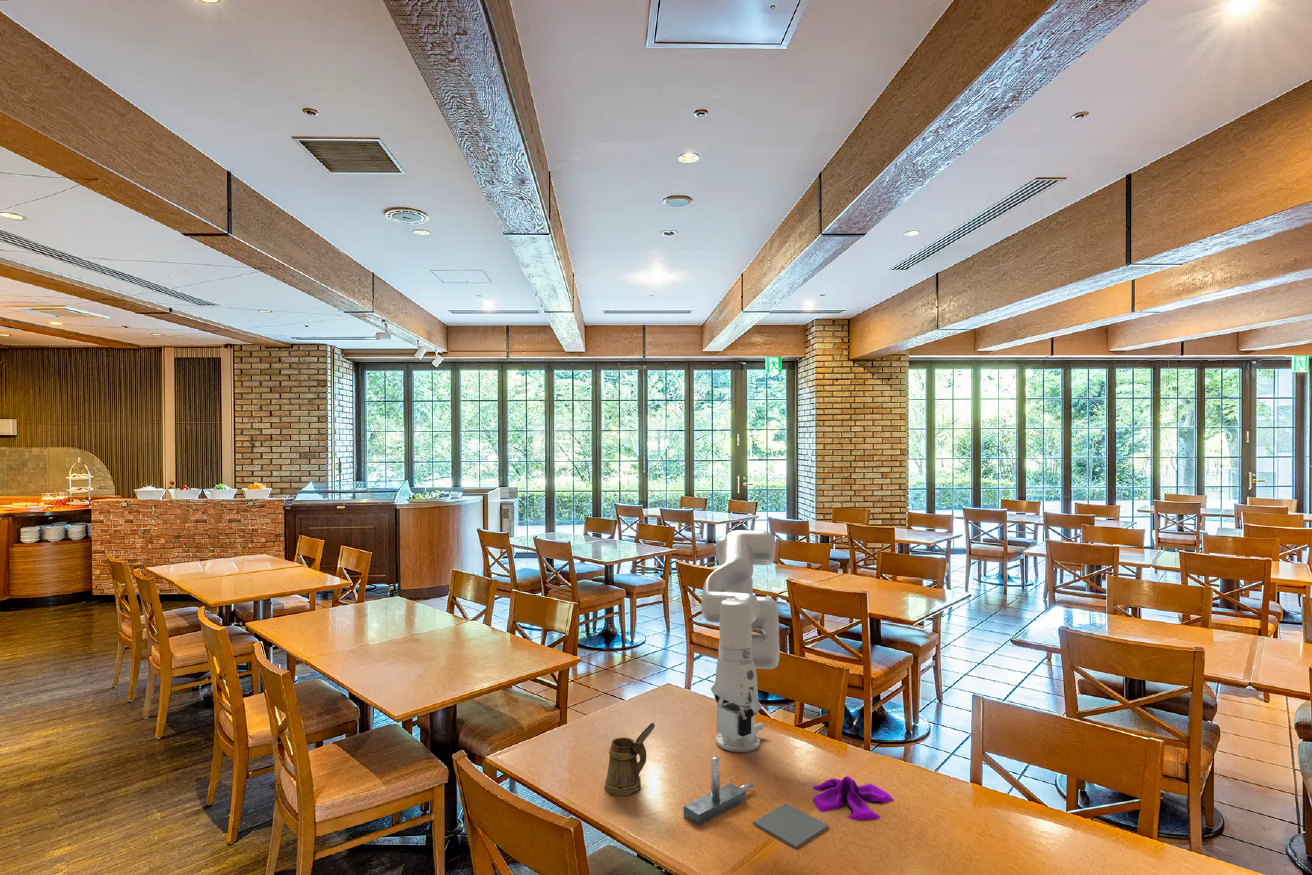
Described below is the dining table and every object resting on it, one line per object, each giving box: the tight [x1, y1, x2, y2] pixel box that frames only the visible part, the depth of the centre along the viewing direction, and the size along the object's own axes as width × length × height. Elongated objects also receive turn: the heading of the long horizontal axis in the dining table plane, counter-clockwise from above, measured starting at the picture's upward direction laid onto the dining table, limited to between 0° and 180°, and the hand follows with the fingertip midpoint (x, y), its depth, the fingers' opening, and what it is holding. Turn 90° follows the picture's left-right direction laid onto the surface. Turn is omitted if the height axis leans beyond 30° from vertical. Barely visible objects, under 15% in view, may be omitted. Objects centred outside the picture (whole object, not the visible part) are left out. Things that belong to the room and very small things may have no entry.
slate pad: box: [752, 803, 830, 850], centre depth 147 cm, size 12×12×1 cm
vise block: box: [683, 755, 754, 827], centre depth 156 cm, size 21×5×12 cm, turn 131°
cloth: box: [811, 775, 895, 821], centre depth 159 cm, size 22×19×6 cm
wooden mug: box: [604, 722, 656, 797], centre depth 163 cm, size 9×14×18 cm, turn 59°
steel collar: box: [716, 702, 753, 740], centre depth 152 cm, size 6×6×6 cm
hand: (735, 729), depth 152 cm, fingers closed on steel collar, 6 cm apart
